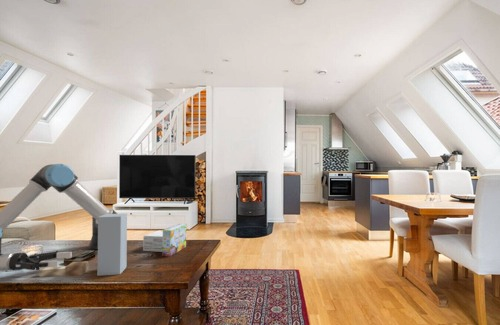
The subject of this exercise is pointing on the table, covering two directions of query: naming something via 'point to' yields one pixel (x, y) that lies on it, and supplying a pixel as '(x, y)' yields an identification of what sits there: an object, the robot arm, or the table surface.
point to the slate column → (112, 244)
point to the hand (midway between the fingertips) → (64, 259)
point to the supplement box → (153, 241)
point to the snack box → (173, 239)
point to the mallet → (66, 270)
